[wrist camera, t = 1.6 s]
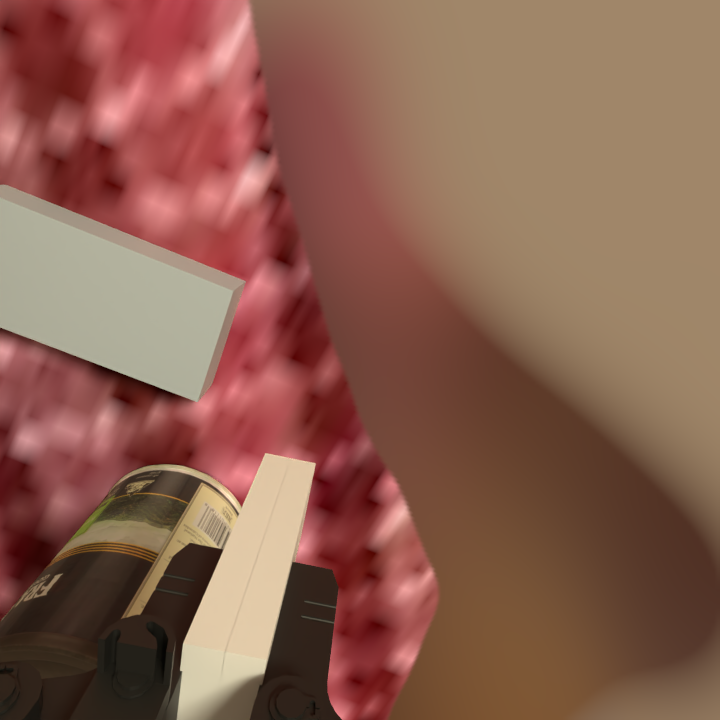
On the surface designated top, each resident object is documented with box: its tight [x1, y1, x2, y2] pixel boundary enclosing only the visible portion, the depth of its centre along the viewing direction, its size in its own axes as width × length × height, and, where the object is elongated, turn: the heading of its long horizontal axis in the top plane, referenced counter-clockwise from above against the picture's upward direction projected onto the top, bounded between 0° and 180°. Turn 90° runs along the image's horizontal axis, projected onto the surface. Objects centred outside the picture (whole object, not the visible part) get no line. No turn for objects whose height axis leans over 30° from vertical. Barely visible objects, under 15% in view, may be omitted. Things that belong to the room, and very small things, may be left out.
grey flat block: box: [0, 185, 246, 402], centre depth 29 cm, size 14×7×3 cm, turn 68°
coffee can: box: [0, 464, 242, 679], centre depth 29 cm, size 10×10×14 cm
